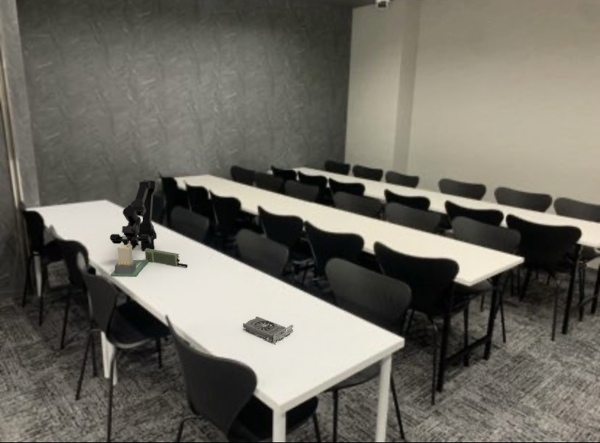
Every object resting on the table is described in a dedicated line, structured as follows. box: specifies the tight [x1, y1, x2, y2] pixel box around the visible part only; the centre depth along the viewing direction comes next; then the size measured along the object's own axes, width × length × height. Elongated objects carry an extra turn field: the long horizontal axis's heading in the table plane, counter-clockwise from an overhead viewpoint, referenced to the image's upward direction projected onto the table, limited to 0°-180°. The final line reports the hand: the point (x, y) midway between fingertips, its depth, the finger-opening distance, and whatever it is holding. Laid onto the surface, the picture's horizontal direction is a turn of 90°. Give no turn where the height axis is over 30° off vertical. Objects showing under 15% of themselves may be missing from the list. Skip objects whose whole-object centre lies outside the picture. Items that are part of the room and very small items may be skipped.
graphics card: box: [242, 316, 294, 346], centre depth 171 cm, size 17×4×12 cm
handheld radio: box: [144, 248, 188, 268], centre depth 234 cm, size 7×3×25 cm
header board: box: [110, 259, 149, 278], centre depth 226 cm, size 20×12×6 cm, turn 1°
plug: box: [117, 242, 134, 265], centre depth 220 cm, size 5×5×13 cm
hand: (127, 254), depth 222 cm, fingers closed, pressing on plug
